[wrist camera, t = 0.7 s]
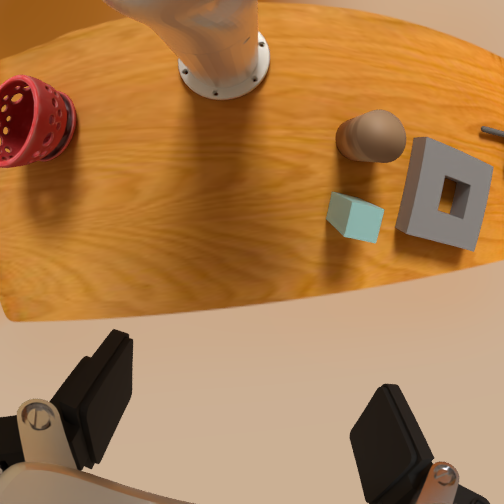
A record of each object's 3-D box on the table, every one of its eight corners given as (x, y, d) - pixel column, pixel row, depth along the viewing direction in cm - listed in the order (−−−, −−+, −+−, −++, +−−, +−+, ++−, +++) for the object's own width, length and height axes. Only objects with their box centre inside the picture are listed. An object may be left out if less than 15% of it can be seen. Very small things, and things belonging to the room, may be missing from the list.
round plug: (339, 114, 38) (361, 103, 29) (378, 125, 38) (409, 119, 29) (332, 155, 40) (353, 155, 31) (371, 165, 40) (401, 168, 31)
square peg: (332, 191, 42) (352, 201, 32) (358, 197, 42) (384, 209, 32) (325, 219, 43) (344, 236, 33) (351, 224, 43) (375, 243, 33)
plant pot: (97, 122, 39) (51, 116, 28) (47, 178, 42) (0, 188, 30) (63, 70, 36) (18, 56, 25) (17, 126, 39) (-29, 126, 27)
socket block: (413, 137, 39) (426, 136, 35) (479, 165, 39) (493, 166, 35) (395, 227, 43) (406, 233, 39) (461, 244, 43) (473, 251, 39)
